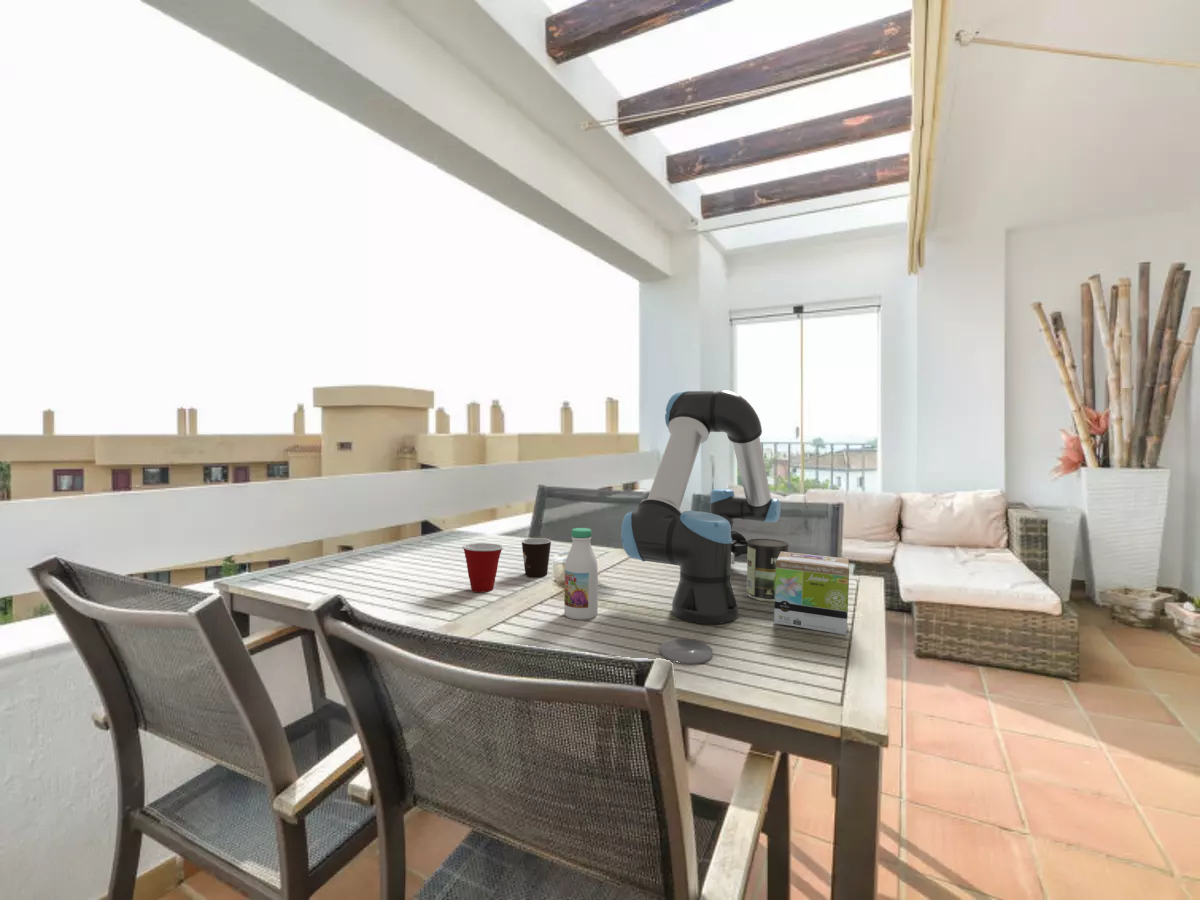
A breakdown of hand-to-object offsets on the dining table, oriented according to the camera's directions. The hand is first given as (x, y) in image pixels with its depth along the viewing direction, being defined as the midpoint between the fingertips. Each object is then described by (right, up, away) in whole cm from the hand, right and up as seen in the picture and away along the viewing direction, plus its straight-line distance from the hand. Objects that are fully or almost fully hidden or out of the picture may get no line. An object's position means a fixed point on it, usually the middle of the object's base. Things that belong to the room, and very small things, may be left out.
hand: (757, 558), depth 149 cm
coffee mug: (-62, -7, +13) cm, 64 cm away
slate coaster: (-26, -9, -44) cm, 52 cm away
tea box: (+4, -9, -27) cm, 29 cm away
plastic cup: (-74, -8, -3) cm, 75 cm away
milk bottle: (-48, -9, -23) cm, 53 cm away
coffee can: (0, -8, -7) cm, 11 cm away
